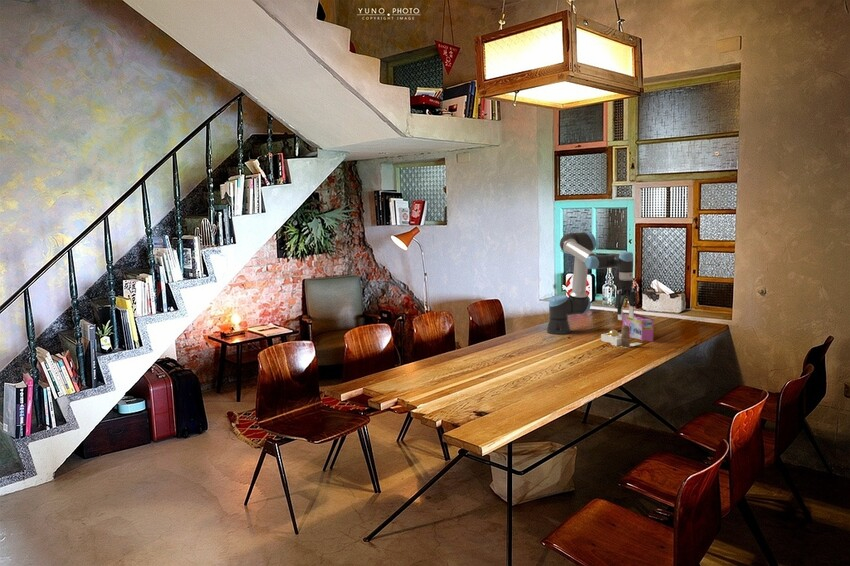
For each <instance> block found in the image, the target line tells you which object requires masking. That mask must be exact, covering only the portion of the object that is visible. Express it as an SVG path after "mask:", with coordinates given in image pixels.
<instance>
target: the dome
mask: <svg viewBox="0 0 850 566" xmlns="http://www.w3.org/2000/svg"><path fill="white" fill-rule="evenodd" d="M607 333H608V334H607V335H608V336H613V337H615V336H620V335H619V331H617V330H616V329H610V330H609V331H608V332H607Z"/></svg>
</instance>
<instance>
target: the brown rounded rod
mask: <svg viewBox="0 0 850 566" xmlns="http://www.w3.org/2000/svg"><path fill="white" fill-rule="evenodd" d="M621 334H622V342H621V346H622V347H621V348H625V347H627V348H630V344H631V343H630V341H631V339H630V338H631V337H630V328H629V327H628V326H627V325H624V326H623V325H622V327H621Z"/></svg>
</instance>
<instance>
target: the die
mask: <svg viewBox="0 0 850 566" xmlns="http://www.w3.org/2000/svg"><path fill="white" fill-rule="evenodd" d="M610 344H611V345H612V346H615V347H618V346H619V347H620V346H622V342H621V338H617V337H615V338H611V343H610Z"/></svg>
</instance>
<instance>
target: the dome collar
mask: <svg viewBox="0 0 850 566" xmlns="http://www.w3.org/2000/svg"><path fill="white" fill-rule="evenodd" d="M608 333H609V332H607V333H602V334H600V341H601V342H604V343H605V342H606V343H610V344H611V338H615V337H617V338H621V343H622V333H619V332H618V333H619V335H620V336H615V337H613V336H608V335H607V334H608Z"/></svg>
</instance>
